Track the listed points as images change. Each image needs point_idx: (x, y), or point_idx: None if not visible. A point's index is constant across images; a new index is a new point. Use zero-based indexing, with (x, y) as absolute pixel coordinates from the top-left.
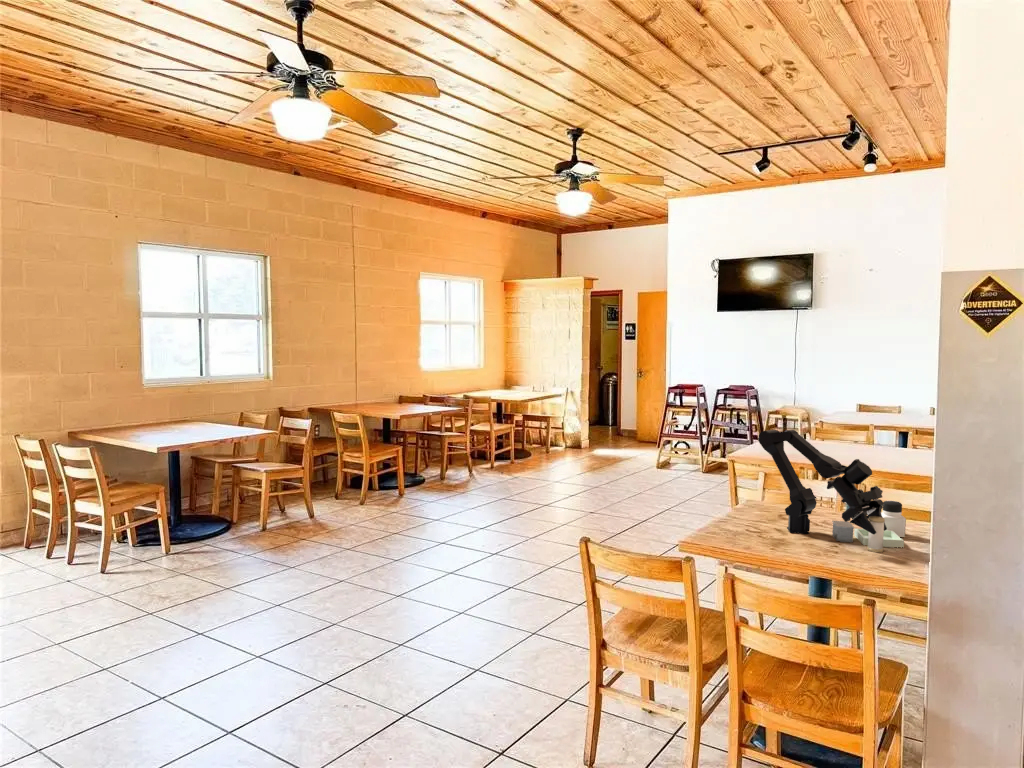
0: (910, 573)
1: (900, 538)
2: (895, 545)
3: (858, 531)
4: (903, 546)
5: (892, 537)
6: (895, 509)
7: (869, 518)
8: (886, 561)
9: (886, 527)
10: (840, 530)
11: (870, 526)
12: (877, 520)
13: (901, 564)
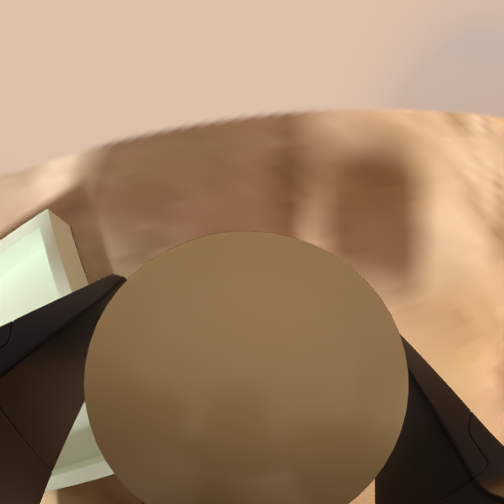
0: (478, 140)
1: (10, 239)
2: (76, 263)
3: None
4: (65, 223)
5: None
6: None
7: (334, 501)
8: (421, 243)
9: (104, 278)
10: None
11: (446, 392)
12: (388, 339)
13: (410, 175)
